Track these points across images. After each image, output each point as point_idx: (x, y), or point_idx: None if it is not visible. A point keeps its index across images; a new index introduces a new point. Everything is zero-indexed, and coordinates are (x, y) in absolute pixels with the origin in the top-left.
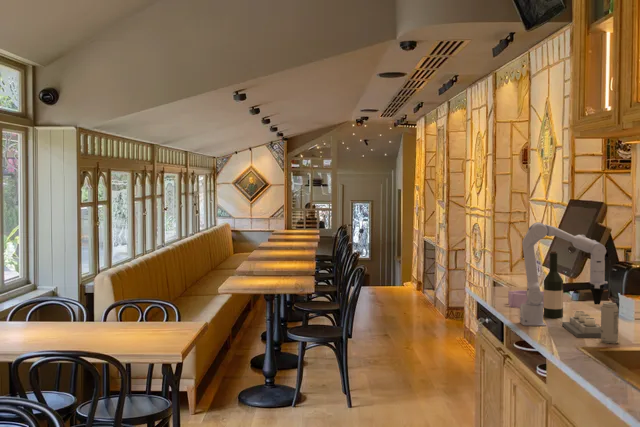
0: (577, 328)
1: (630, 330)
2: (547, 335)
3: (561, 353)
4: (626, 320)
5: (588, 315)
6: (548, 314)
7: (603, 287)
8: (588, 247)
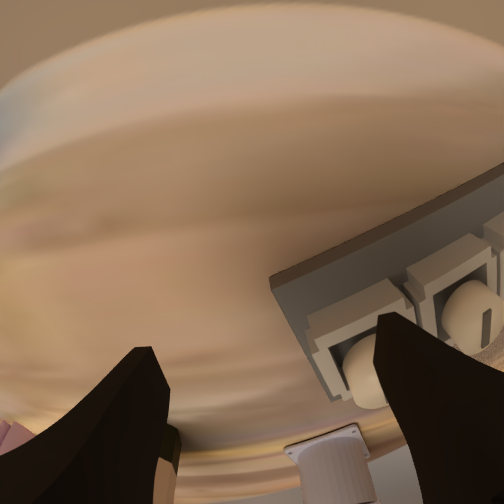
0: None
1: (305, 24)
2: (492, 363)
3: None
4: (6, 122)
5: (490, 308)
6: (178, 454)
7: (42, 496)
8: None
